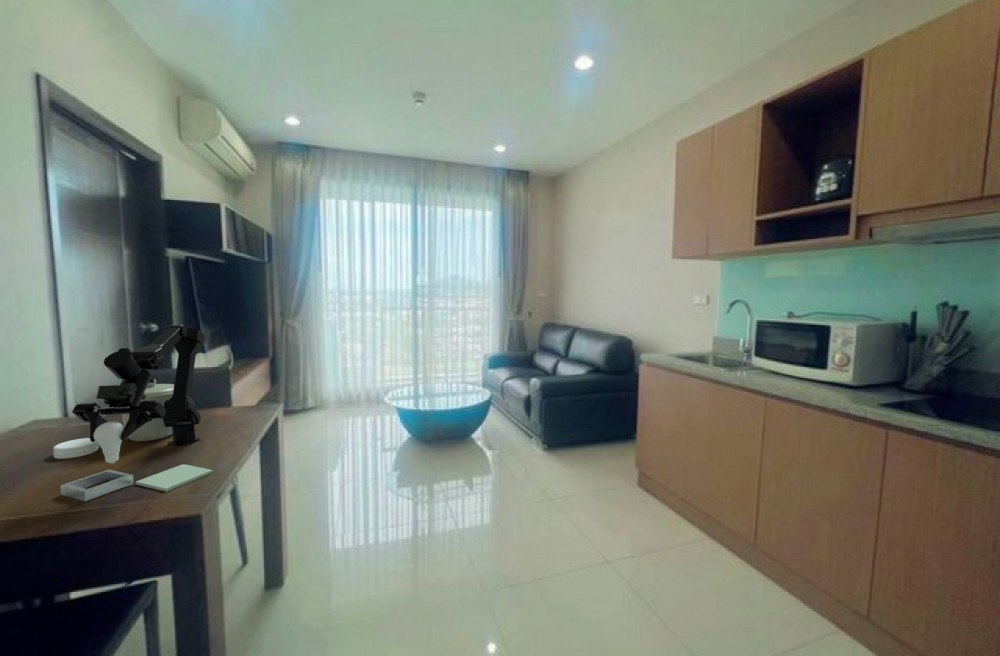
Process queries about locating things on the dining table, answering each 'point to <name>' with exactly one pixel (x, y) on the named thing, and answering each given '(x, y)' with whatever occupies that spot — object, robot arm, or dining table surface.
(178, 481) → the green mat
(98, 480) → the grey square frame
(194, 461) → the dining table surface
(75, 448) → the white round disc
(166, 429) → the canister
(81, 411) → the robot arm
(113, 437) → the lightbulb
